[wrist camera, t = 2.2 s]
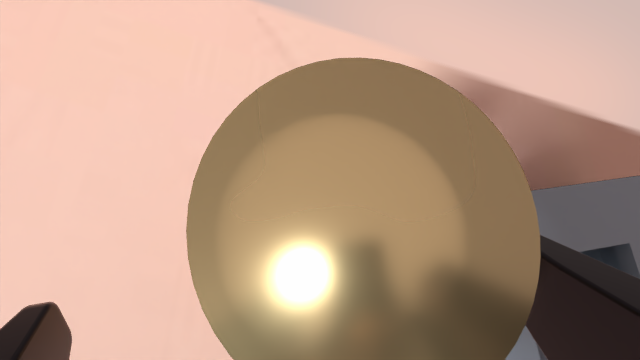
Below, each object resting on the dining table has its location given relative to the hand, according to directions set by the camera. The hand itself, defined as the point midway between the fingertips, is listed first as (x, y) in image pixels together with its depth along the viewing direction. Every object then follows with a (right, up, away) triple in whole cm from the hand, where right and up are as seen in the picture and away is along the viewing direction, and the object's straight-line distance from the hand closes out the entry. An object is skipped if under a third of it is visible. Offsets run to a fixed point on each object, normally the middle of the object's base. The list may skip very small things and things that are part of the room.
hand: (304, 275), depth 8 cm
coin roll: (-1, -2, +8) cm, 8 cm away
